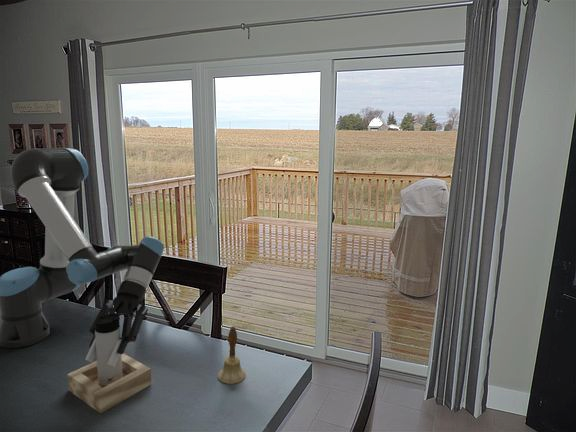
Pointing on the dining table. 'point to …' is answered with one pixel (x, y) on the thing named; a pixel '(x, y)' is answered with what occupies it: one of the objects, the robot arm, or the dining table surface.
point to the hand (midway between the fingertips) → (100, 363)
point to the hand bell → (231, 363)
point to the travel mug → (107, 348)
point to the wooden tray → (114, 392)
